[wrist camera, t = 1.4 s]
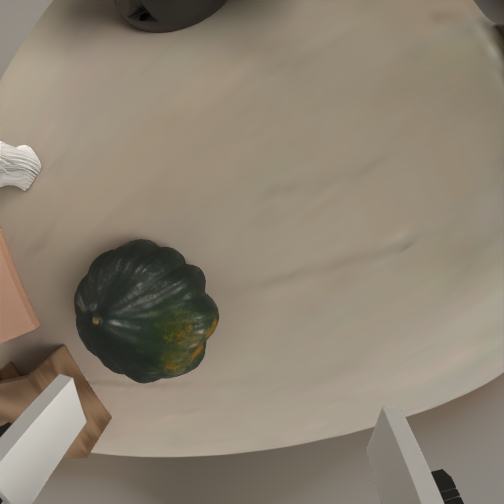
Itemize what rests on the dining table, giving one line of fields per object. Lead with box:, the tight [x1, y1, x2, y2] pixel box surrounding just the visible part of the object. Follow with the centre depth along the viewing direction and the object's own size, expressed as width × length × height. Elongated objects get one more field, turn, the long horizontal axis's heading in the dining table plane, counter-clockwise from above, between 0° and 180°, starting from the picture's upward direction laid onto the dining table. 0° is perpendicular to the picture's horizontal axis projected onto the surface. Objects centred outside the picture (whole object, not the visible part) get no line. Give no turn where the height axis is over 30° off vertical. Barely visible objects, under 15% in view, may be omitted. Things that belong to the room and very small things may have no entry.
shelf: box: [0, 345, 112, 458], centre depth 37 cm, size 14×18×10 cm
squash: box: [74, 239, 219, 383], centre depth 30 cm, size 14×15×15 cm
